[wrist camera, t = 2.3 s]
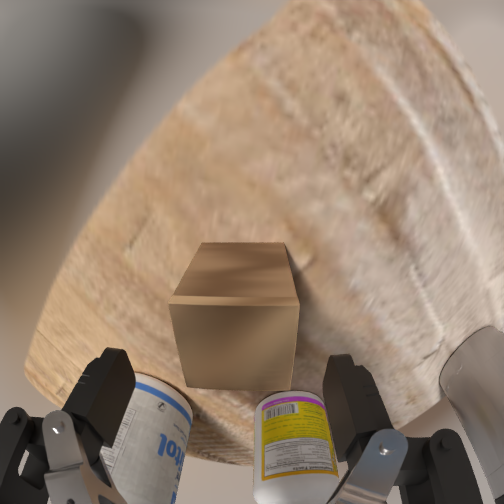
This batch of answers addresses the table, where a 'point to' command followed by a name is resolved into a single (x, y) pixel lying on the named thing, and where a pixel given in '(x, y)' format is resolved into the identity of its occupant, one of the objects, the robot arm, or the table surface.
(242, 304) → the walnut block
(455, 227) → the table surface
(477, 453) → the robot arm
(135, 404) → the supplement tub
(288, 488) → the supplement bottle
